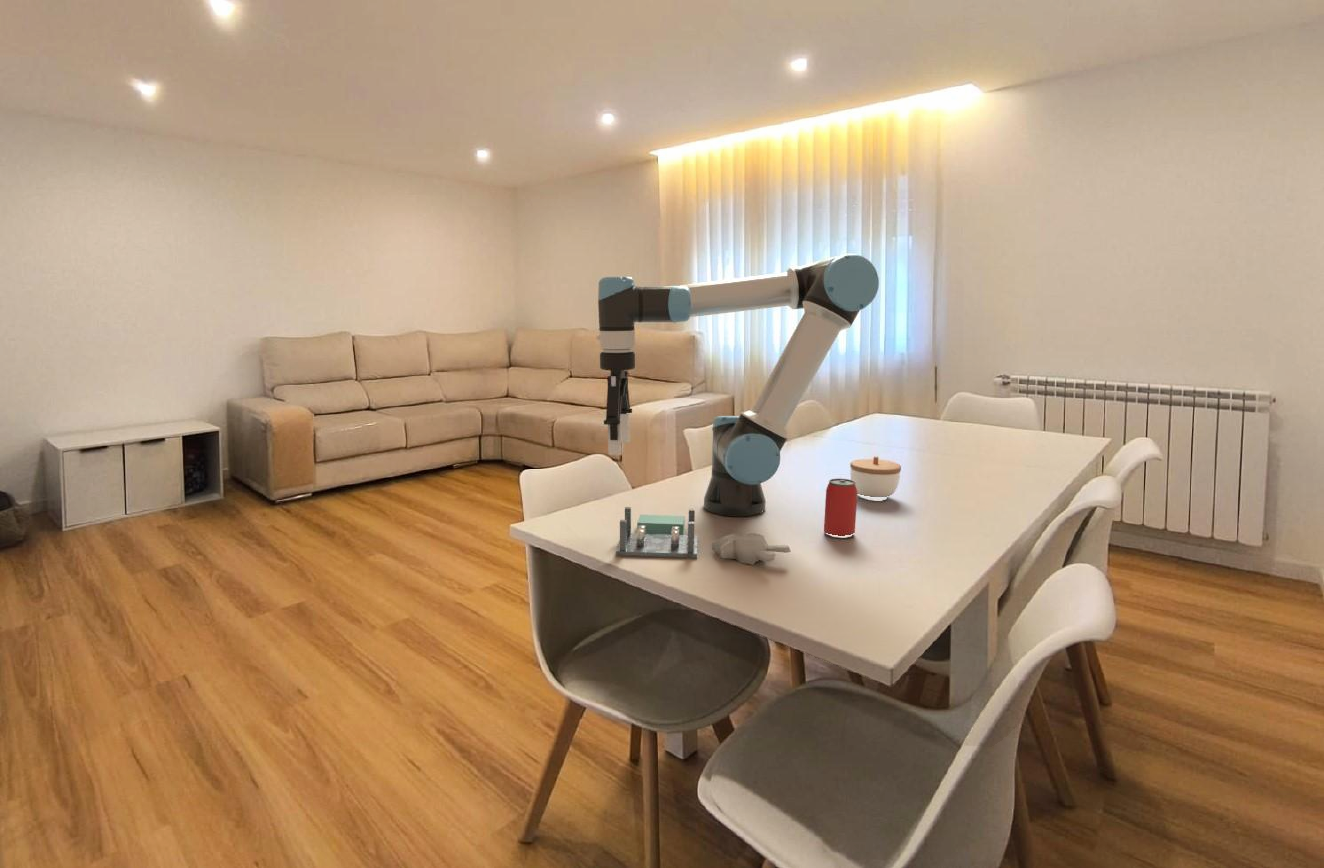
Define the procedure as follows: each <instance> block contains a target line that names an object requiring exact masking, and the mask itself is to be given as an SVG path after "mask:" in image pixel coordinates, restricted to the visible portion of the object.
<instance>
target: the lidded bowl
mask: <svg viewBox="0 0 1324 868" xmlns="http://www.w3.org/2000/svg"><path fill="white" fill-rule="evenodd" d="M849 466H850V467H849V468H850V480H852V481H854V482H855V483H856V484H855V486H856V489H857V495H858V494H860V495H864V496H870V497H887V496H890V495H891V496H892V495H894V493H895V492H896V490H897V488H898V486H899V482H900V476H901V471H902V467H901V465H900V463H897V462H894V461H890V460H886V459H879V456H875V455H874V456H873V458H859V459H854V460H852V461H850V465H849ZM891 496H890V497H891Z"/></svg>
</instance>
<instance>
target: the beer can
mask: <svg viewBox="0 0 1324 868" xmlns="http://www.w3.org/2000/svg"><path fill="white" fill-rule="evenodd" d="M855 484H856V483H855V482H854V481H852V480H851V479H847V478H841V477H840V478H831V479H829V480H828V484H827V486H826V489H825V503H824V505H825V506H824V517H823V518H824V520H823V532H824V534H825V533H828V534H832V535H838V536H845V535H851V534H853V533H856V521H857V520H856V519H857V505H858V494H857V489H856V486H855Z"/></svg>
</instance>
